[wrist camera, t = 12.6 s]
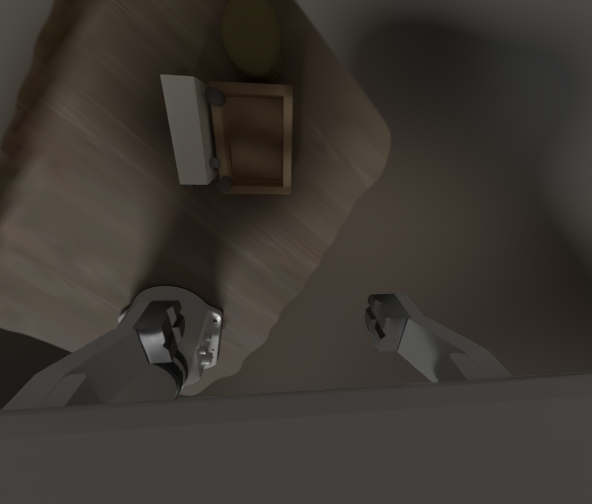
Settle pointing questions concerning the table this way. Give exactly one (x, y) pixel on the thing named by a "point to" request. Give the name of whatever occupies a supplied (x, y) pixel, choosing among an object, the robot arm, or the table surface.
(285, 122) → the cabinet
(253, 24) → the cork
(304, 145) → the table surface
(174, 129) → the white rectangular block
